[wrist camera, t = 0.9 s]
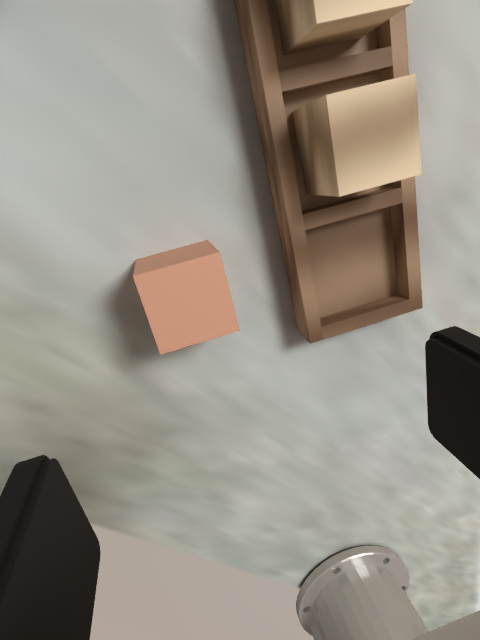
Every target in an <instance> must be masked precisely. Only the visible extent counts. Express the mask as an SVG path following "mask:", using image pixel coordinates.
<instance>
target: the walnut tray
mask: <svg viewBox="0 0 480 640" xmlns="http://www.w3.org/2000/svg"><path fill="white" fill-rule="evenodd" d="M234 1H235V7H236V12H237V17H238V22H239V27H240V32H241V37H242V43H243V48H244V53H245V58H246V63H247V68H248V74H249V79H250V84H251V89H252V94H253V99H254V105H255V110H256V115H257V120H258V125H259V130H260V136H261V141H262V146H263V151H264V156H265V161H266V167H267V172H268V177H269V182H270V187H271V192H272V198H273V203H274V208H275V213H276V218H277V223H278V229H279V234H280V239H281V244H282V249H283V254H284V260H285V265H286V270H287V275H288V280H289V285H290V291H291V296H292V301H293V306H294V311H295V316H296V322H297V327H298V331H299V332H300V333H301V334H302V335H303V336H304V337H305V338H306V339H307V340H308V341H309V342H310V343H313V342H316V341H320V340H323V339H326V338H329V337H332V336H335V335H338V334H342V333H345V332H348V331H351V330H354V329H357V328H360V327H364V326H367V325H370V324H373V323H376V322H379V321H382V320H385V319H389V318H392V317H395V316H398V315H401V314H404V313H407V312H411V311H414V310H417V309H420V308H422V291H421V274H420V257H419V239H418V222H417V205H416V188H415V176H417V175H421V159H420V140H419V121H418V101H417V82H416V73H415V74H411V75H409V67H408V50H407V33H406V16H405V8H406V7H407V6H409V5H410V4H412V0H234Z"/></svg>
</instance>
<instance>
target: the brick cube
mask: <svg viewBox="0 0 480 640" xmlns="http://www.w3.org/2000/svg"><path fill="white" fill-rule="evenodd" d="M133 278H134V281H135V284H136V287H137V290H138V293H139V295H140V298H141V301H142V304H143V307H144V310H145V312H146V315H147V318H148V321H149V324H150V327H151V329H152V332H153V335H154V338H155V341H156V344H157V347H158V349H159V352H160V355H161V354H165V353H168V352H171V351H174V350H178V349H181V348H184V347H187V346H191V345H194V344H197V343H200V342H204V341H207V340H210V339H213V338H217V337H220V336H223V335H226V334H230V333H233V332H236V331H239V326H238V322H237V318H236V314H235V310H234V306H233V302H232V298H231V295H230V291H229V287H228V283H227V279H226V275H225V271H224V267H223V263H222V260H221V256H220V252H219V251H218V250H217V249H216V248H215V247H214V246H213V245H212V244H211V243H210V242H209V241H208V240H206V241H202V242H198V243H195V244H191V245H187V246H184V247H180V248H177V249H173V250H169V251H166V252H162V253H159V254H155V255H151V256H148V257H144V258H140V259H137V260H136V262H135V267H134V272H133Z"/></svg>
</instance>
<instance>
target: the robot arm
mask: <svg viewBox="0 0 480 640" xmlns="http://www.w3.org/2000/svg"><path fill="white" fill-rule="evenodd" d="M425 350H426V378H427V406H428V426H429V429H430V432H431V434H432V435H433V436H434V438H435V439H436V440H437V441H438V442H440V443H441V444H442V445H443V446H444V447H445V448H446V449H447V450H448V451H449V452H451V453H452V454H453V455H454V456H455V457H456V458H457V459H458V460H459V461H460V462H462V463H463V464H464V465H465V466H466V467H467V468H468V469H469V470H470V471H471V472H473V473H474V474H475V475H476V476H477V477H478V478H479V479H480V337H478V336H476V335H474V334H471V333H469V332H467V331H465V330H463V329H461V328H459V327H456V326H454V327H450V328H446V329H443V330H440V331H437V332H434V333H432V334H431V336H430V339H429V340H428V341H427V342H426V346H425ZM99 562H100V546H99V541H98V539H97V537H96V535H95V533H94V531H93V529H92V527H91V525H90V523H89V521H88V519H87V517H86V515H85V513H84V511H83V509H82V507H81V505H80V503H79V501H78V499H77V497H76V495H75V493H74V491H73V489H72V487H71V485H70V484H69V482H68V480H67V478H66V476H65V474H64V472H63V470H62V468H61V466H60V464H59V462H58V461H57V460H56V459H54V458H53V459H50V460H49V458H48V457H47V456H45V455H42V456H38V457H35V458H32V459H29V460H26V461H22V462H19V463H17V464H16V465H15V466H14V468H13V470H12V472H11V474H10V476H9V479H8V481H7V483H6V485H5V487H4V489H3V491H2V494H1V496H0V640H89V638H90V632H91V624H92V616H93V608H94V601H95V593H96V585H97V577H98V570H99ZM408 586H409V574H408V570H407V568H406V566H405V564H404V563H403V561H402V560H401V558H400V557H399V556H398V555H397V554H396V553H395V552H393V551H392V550H390V549H387V548H385V547H380V546H360V547H355V548H351V549H348V550H345V551H342V552H340V553H338V554H336V555H334V556H332V557H330V558H329V559H327V560H326V561H324V562H323V563H322V564H320V565H319V566H318V567H317V568H316V569H315V570H314V571H313V572H312V573H311V574H310V575H309V576H308V577H307V579H306V580H305V582H304V583H303V585H302V587H301V589H300V591H299V594H298V596H297V602H296V608H297V614H298V617H299V620H300V623H301V625H302V626H303V628H304V629H305V630H306V631H307V632H308V633H309V634H311V635H312V636H313V637H314V640H480V611H477V612H475V613H473V614H470V615H468V616H465V617H463V618H461V619H458V620H456V621H454V622H451V623H449V624H446V625H444V626H442V627H439V628H437V629H434V630H432V631H430V632H429V631H428V629H427V628H426V626H425V624H424V623H423V621H422V619H421V618H420V616H419V615H418V613H417V611H416V610H415V608H414V607H413V605H412V603H411V602H410V600H409V598H408V597H407V595H406V593H407V589H408Z"/></svg>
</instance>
